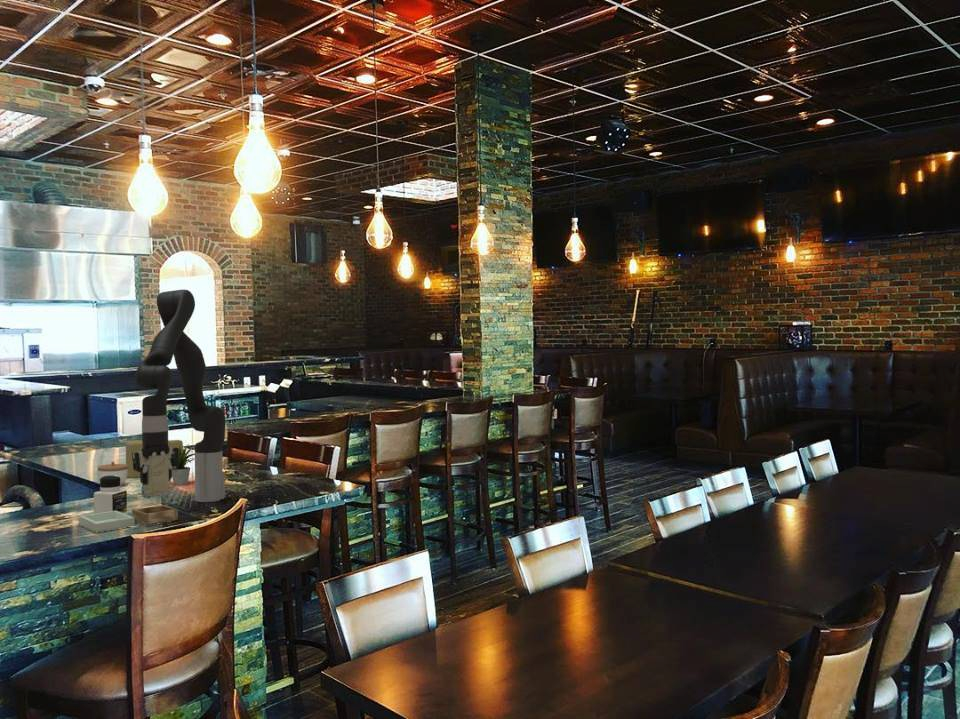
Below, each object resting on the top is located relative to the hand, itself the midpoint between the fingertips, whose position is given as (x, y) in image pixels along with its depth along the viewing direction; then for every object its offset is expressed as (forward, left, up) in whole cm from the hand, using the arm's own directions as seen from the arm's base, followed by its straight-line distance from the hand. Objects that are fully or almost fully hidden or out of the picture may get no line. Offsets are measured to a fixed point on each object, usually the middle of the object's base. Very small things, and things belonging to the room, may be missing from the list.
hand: (156, 482), depth 239 cm
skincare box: (0, 0, -4) cm, 4 cm away
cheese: (-35, -79, -12) cm, 87 cm away
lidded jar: (-13, -69, -12) cm, 71 cm away
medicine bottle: (+5, -22, -12) cm, 26 cm away
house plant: (-33, -53, -12) cm, 64 cm away
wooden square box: (0, 0, -12) cm, 12 cm away
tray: (+13, -4, -12) cm, 19 cm away
